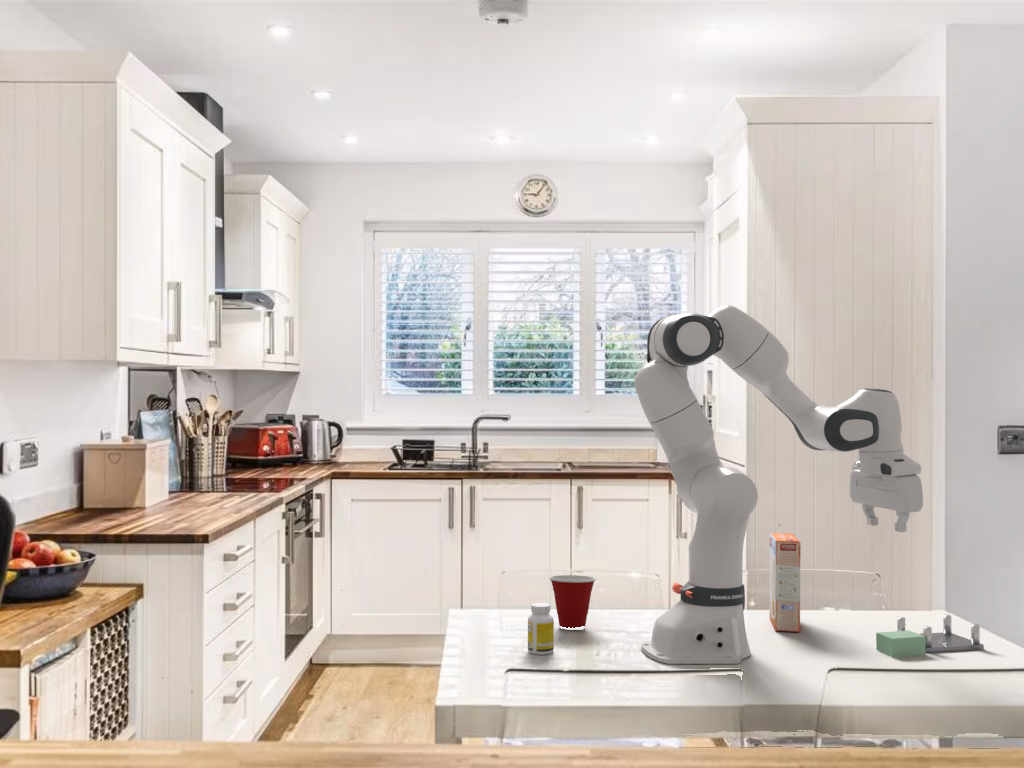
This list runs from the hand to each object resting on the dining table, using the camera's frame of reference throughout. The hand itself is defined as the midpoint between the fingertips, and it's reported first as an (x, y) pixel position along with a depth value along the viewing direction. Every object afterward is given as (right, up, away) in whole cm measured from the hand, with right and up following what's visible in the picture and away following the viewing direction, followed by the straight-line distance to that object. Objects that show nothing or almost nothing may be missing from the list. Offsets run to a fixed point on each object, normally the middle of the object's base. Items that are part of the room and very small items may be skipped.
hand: (886, 528), depth 187 cm
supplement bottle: (-74, -25, -4) cm, 78 cm away
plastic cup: (-66, -26, +16) cm, 73 cm away
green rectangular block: (+2, -26, -4) cm, 26 cm away
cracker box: (-16, -26, +19) cm, 36 cm away
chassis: (+12, -26, +3) cm, 29 cm away
